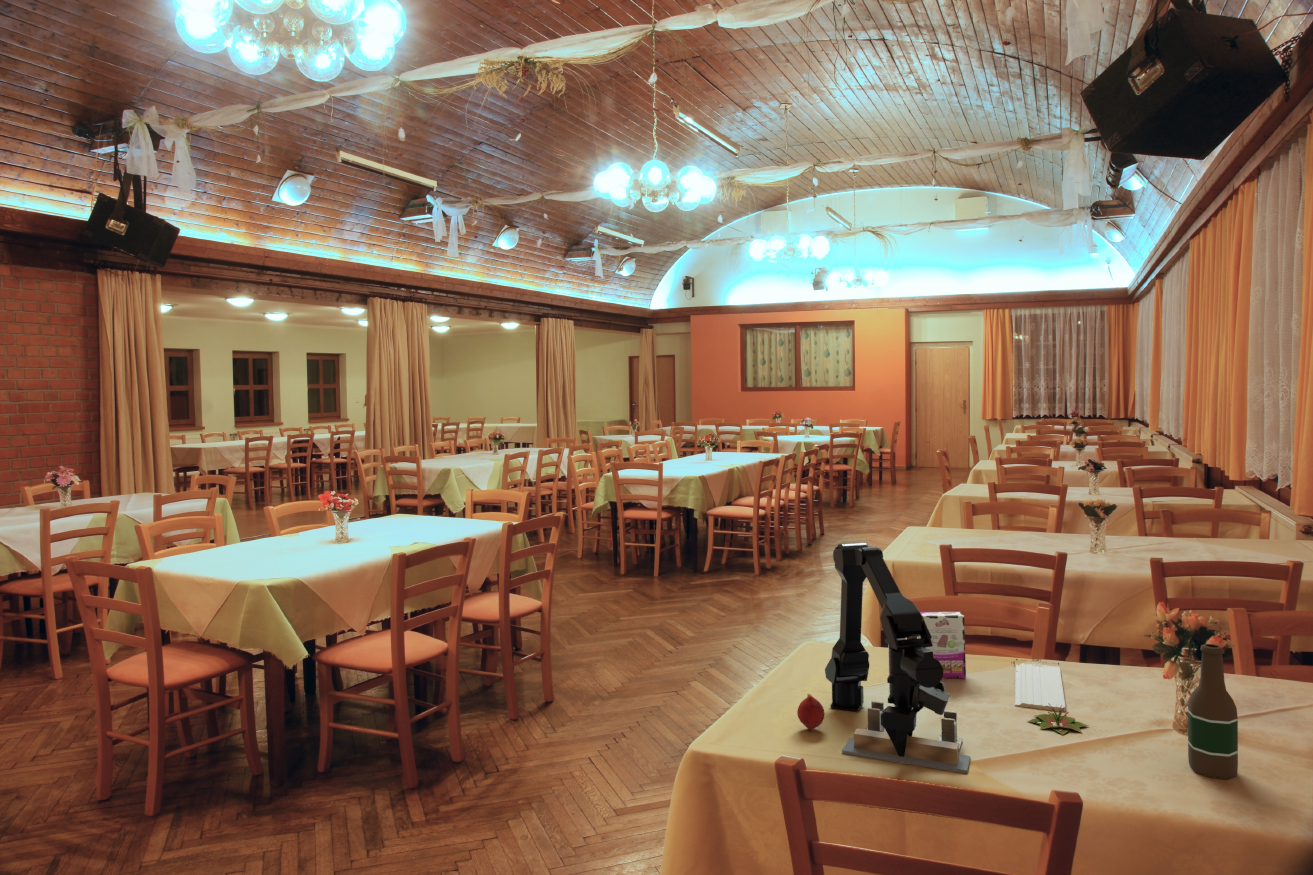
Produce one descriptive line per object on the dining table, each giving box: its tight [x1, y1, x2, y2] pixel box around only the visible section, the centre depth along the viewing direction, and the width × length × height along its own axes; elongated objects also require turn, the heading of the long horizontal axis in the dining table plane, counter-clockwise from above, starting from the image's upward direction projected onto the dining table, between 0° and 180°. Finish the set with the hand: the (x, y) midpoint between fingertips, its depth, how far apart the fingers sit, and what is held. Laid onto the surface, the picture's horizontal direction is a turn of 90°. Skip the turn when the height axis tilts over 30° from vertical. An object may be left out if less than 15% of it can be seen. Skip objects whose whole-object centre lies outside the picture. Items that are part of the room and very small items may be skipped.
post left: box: [865, 700, 887, 733], centre depth 174 cm, size 4×6×6 cm
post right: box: [938, 710, 963, 752], centre depth 167 cm, size 4×6×6 cm
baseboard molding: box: [1010, 658, 1067, 713], centre depth 200 cm, size 31×3×12 cm
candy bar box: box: [917, 611, 967, 679], centre depth 209 cm, size 11×5×16 cm, turn 82°
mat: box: [841, 737, 971, 774], centre depth 162 cm, size 24×7×1 cm, turn 64°
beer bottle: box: [1187, 643, 1239, 781], centre depth 152 cm, size 8×8×24 cm
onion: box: [796, 693, 825, 731], centre depth 177 cm, size 6×6×8 cm
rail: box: [853, 728, 960, 764], centre depth 162 cm, size 20×3×3 cm, turn 64°
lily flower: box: [1027, 703, 1090, 736], centre depth 176 cm, size 12×12×5 cm
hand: (905, 747), depth 162 cm, fingers open, 9 cm apart
